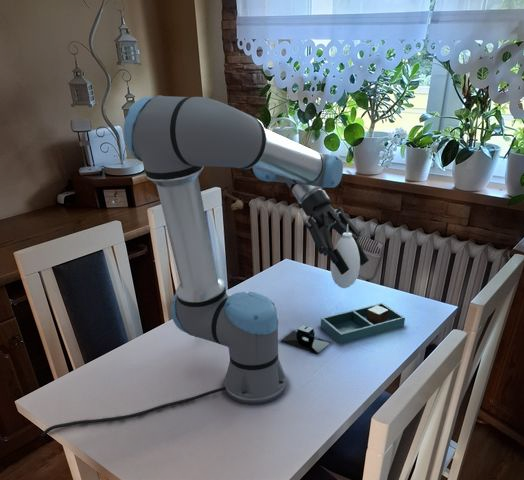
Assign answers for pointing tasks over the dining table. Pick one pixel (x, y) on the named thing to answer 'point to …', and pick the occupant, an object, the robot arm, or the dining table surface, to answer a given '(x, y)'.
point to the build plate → (305, 340)
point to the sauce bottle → (347, 261)
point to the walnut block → (377, 315)
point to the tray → (359, 324)
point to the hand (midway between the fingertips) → (355, 267)
